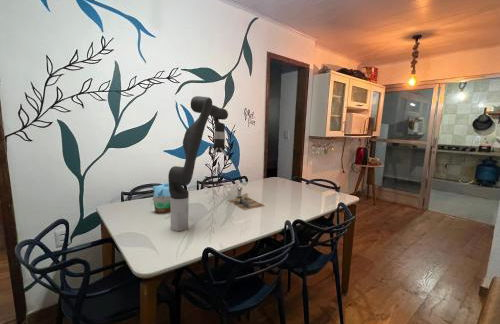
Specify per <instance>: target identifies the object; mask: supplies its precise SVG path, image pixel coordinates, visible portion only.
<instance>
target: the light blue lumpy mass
mask: <svg viewBox="0 0 500 324" xmlns="http://www.w3.org/2000/svg"><path fill="white" fill-rule="evenodd" d="M152 190H153V192H154V193H153V196H154V197H161V196H165V197H170V192H169V182H164V183H162V184H160V185H153V186H152Z"/></svg>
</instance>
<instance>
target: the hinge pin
mask: <svg viewBox="0 0 500 324" xmlns="http://www.w3.org/2000/svg"><path fill="white" fill-rule="evenodd" d="M236 190H237V195H236V196H237V198H241V196H242V191H243V187H241V186H239V187H236Z"/></svg>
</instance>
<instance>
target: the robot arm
mask: <svg viewBox="0 0 500 324" xmlns="http://www.w3.org/2000/svg"><path fill="white" fill-rule="evenodd" d="M190 108H191V110H192V111H193V112H194V113H197V114H199V117H197V119H196V120H195V121H194V122H193V123H192V124H191V125H190V126H189V127H188V128H187V129H186V130H185V133H184V136H183V138H182V139H183V140H182V148H183V150H184V154H185V161H184V165H183V166H176V165H174V166H172V167H171V168H170V169H169V171H168V176H167V177H168V180H167V181H168V183H169V192H170V212H169V214H170V230H171V231H175V232H182V231H185V230H189V215H190V214H189V203H190V202H189V195H190V193H189V191H188V190H187V189H186V188H184V186H188V185H189V184H190V183H191V181H192V179H193V176H194V170H195V164H196V160H197V156H198V153H199V148H200V146H201V144H202V139H203V136H204V131H205V128H206V125H207V122H208V120H209V117H210V116H211V117H212V119H213V122H214V133H213V134H214V135H213V145H209V147H208V155H210V157H211V161H212V162H213V161H214V160H215V159H214V155H215V153H223V155H224V158H223V159H224V162H226V161H227V156H229V155H230V147H229V146H226V144H225V143H226V132H225V131H226V125H225V123H223V122H221V121H220V120H222V121H223V120H226V119H228V117H229V112H228V111H227V109H225V108H222V107H221V108H220V107H218V106H217V105H214V104H213V99H212V98H210V97H208V96H199V95H197V96H196V95H195V96H193V97H192V98H191V100H190ZM212 149H213V152H212ZM225 150H226V152H227V153H226V152H225Z"/></svg>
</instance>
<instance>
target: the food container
mask: <svg viewBox="0 0 500 324" xmlns="http://www.w3.org/2000/svg"><path fill="white" fill-rule="evenodd" d="M152 201H153V205H154V212H155V213H156V214H162V215H163V214H169V213H170V197H165V196H161V197H154V195H153V196H152Z"/></svg>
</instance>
